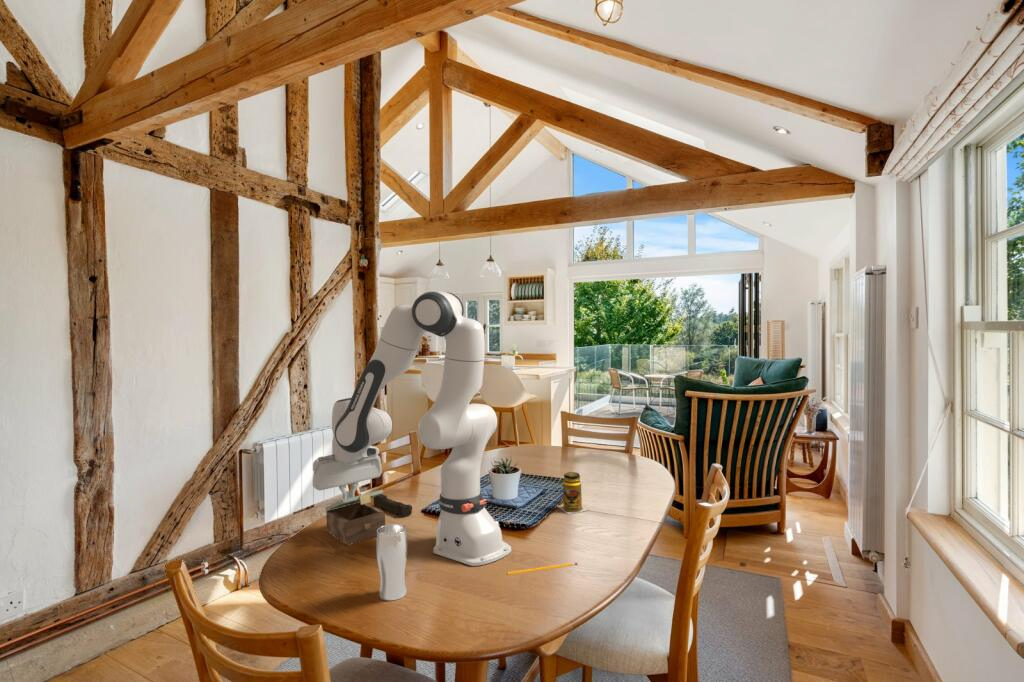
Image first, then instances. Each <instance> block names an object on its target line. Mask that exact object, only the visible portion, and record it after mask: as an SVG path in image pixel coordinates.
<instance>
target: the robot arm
mask: <svg viewBox="0 0 1024 682" xmlns="http://www.w3.org/2000/svg"><path fill="white" fill-rule="evenodd" d="M464 309H465V308H464V304H463V302H462V301H461V299H460V298H459V297H458V296H457V295H455V294H454V293H453V292H449V291H442V290H434V291H428V292H424V293H422V294H421V295H419V296H418V297H417V298H416V299H415V300H414V302H413V304H412V305H410V304H399V305H398V304H397V305H395V306H394V307H393V308H392V309H391V311H390V313H389V315H388V316H387V318H386V321H385V323H384V325H383V328H382V329H381V333H380V335H379V340H378V341H377V345H376V347H375V350H374V352H373V354H372V356H371V358H370V359H369V361H368V363H366V365H365V367H364V369H363V370H362V372H361V375H360V376H359V380H358V382H357V383H356V386H355V388H354V391H353V393H352V396H351V397H347V398H342V399H339V400H336V401H335V402H334V403H333V407H332V411H331V429H332V431H331V432H332V434H333V438H332V441H331V451H332V453H331V454H329V455H325V456H318V457H317V458H316V459H315V460H314V461H313V463H312V471H313V474H312V475H313V476H312V486H313V488H314V489H316V491H323V490H328V489H333V488H337V487H338V489H339V490H340V492H341V494H342V500H343V499H347V498H351V497H355V496H356V495H355V494H356V493H355V492H356V491H357V489H358V487H359V482H364V481H368V480H373V479H377V478H380V477H381V475H382V472H383V470H382V459H381V456H380V455H379V454H380V449H379V447H377V446H374V445H375V444H377V443H380V442H382V441H384V440H386V439H388V438H389V437H390V436H391V434H392V431H393V420H392V418H391V415H390V414H389V413H388V412H387V411H386V410H384V409H379V408H376V407H374V406H375V404H376V401H377V399H378V397H379V394H380V392H381V391H382V390H383V388H384V387H385V386H386V385H387V384H389V383H390V382H392V381H393V380H394V379H396V378H397V377H399V376H401V375H403V374H405V373H406V372H407V371H409V369H411V366H412V364H413V363H414V361H415V358H416V355H417V352H418V350H419V347H420V344H421V340H422V337H423V335H424V334H425V333H426V332H429V333H430V334H433V335H435V336H438V337H441V338H442V337H443V338H444V341H445V350H444V351H445V352H444V362H443V371H442V372H443V373H442V381H441V384H440V388H439V391H438V394H437V395H436V397H435V399H434V402H433V403H432V405H431V407H430V408H429V410H428V411H427V412H425V414H423V415H422V417H421V418H419V419H420V420H419V422H418V425H417V434H418V439H420V442H421V444H422V445H423V446H424V447H426V449H430V450H446V449H451V448H452V449H451V452H450V454H449V455H448V457H447V458H446V459H445V460H444V462H443V463H442V464H441V467H440V494H439V500H438V501H439V502H438V503H439V508H440V513H439V517H438V519H437V524H436V525H437V526H436V538H435V539H436V541H435V544H434V545H435V546H433V548H432V549H433V550H432V553H433V554H436V555H439V556H441V557H444V558H447V559H450V560H453V561H455V562H460V563H462V564H465V565H468V566H472V567H477V566H483V565H486V564H490V563H493V562H495V561H499V560H500V559H503V558H504V557H506V556H508V555H509V554H510V553H511V552H512V546H511V545H509V544H508V543H507V542H505V541H504V540H503V535H502V534H503V533H502V529H501V527H500V524H499V521H498V520H495V519H494V518H493V517H492V515H491V514H490V512H489V511H488V510H487V509H486V504H487V503H488V502H487V499H486V498H484V496H483V493H482V492H481V465H482V460H483V456H484V452H485V448H486V446H487V444H488V442H489V440H490V438H491V437H492V436H493V435H494V433H495V432H496V430H497V427H498V417H497V413H496V412H495V410H494V408H493V407H491V406H490V405H489V404H485V403H484V404H483V403H474V402H473V403H471V401H472V399H473V398H474V396H475V395H476V394H477V393H478V392H479V391H480V390H481V388H482V387H483V380H484V379H483V378H484V367H485V357H486V356H485V354H486V343H485V331H484V327H483V325H482V323H480V322H479V321H478V320H476V319H474V318H471V317H469V318H468V317H465V316H464V313H465V311H464ZM347 485H351V487H350V490H348V491H347V490H346V489H347Z"/></svg>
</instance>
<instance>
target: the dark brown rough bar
mask: <svg viewBox="0 0 1024 682" xmlns="http://www.w3.org/2000/svg"><path fill="white" fill-rule="evenodd" d="M372 498H373V505H374V507H376V508H378V509H379V508H380V510H384V509H385V510H386V511H390V512H394V513H395V514H397V515H401V516H402V518H408V517H410V516H411V515H412V513H413V511H412V510H413V506H412V505H411V504H405V503H403V502H400V501H396V500H393V499H390V498H388V496H387V495H385V494H384V493H382V494H380V495H377V496H375V497H372ZM383 508H384V509H383Z"/></svg>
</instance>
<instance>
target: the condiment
mask: <svg viewBox="0 0 1024 682" xmlns="http://www.w3.org/2000/svg"><path fill="white" fill-rule="evenodd" d="M562 491H563V492H562V499H563V504H560V505H556V507H558V508H559V509H560V510H562V511H563V512H564V513H566V514H569V515H571V514H576V513H577V514H578V513H582V512H585V511H587V508H584V507H583V504H582V498H583V497H582V482H581V475H580V473H579V472H575V471H574V472H573V471H570V472H565V473H564V474H563V482H562Z"/></svg>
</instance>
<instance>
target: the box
mask: <svg viewBox="0 0 1024 682" xmlns="http://www.w3.org/2000/svg"><path fill="white" fill-rule="evenodd" d="M325 512H326V532H327V531H328V532H330V533H331V534H332V535H334V536H335V537H336V538H338V539H339V540H340V541H339V540H338V539H337V540H338V541H339V542H341V541H342V542H343V543H342V542H341V543H342V544H344V543H345V544H346V545H345V544H344V545H345V546H347V545H348V546H350V545H349V544H351V543H355V542H358V543H360V542H359V541H361V542H363V541H362V540H364V541H367V540H370V539H373V538H372V537H374V538H376V537H375V536H377V529H378V528H380V527H381V526H384V525H386V513H385V511H383V509H379V508H378V507H376V506H375V505H374V506H373V505H371V504H370V503H366V504H362V505H361V504H360V502H358V503H354V504H350V505H346V506H342V507H339V508H335V509H331V510H327V511H326V510H325ZM332 535H331V536H332ZM335 537H334V538H335ZM336 538H335V539H336ZM369 538H370V539H369ZM366 539H367V540H366ZM355 544H356V543H355ZM351 545H352V544H351Z"/></svg>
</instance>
